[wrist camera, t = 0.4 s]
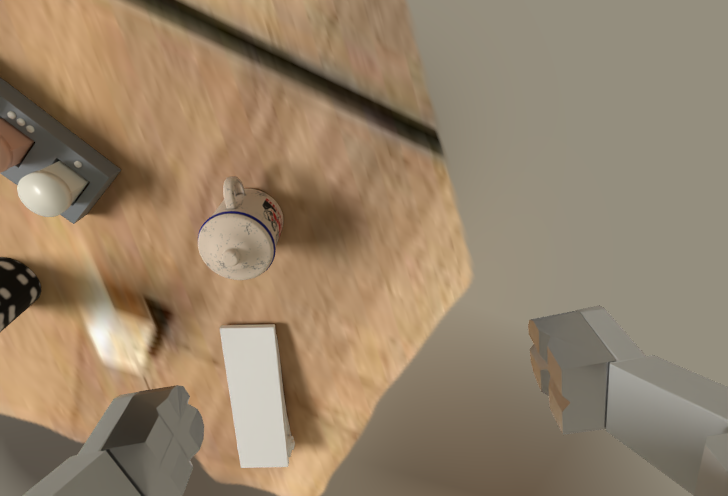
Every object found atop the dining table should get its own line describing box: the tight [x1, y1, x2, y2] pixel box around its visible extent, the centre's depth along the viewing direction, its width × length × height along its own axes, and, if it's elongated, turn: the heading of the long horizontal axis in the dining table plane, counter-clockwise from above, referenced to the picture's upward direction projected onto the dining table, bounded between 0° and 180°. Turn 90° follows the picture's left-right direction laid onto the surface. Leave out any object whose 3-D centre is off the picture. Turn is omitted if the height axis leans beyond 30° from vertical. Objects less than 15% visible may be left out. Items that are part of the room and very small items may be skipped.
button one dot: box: [17, 161, 89, 217], centre depth 51 cm, size 5×5×5 cm
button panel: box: [0, 78, 121, 224], centre depth 52 cm, size 21×9×3 cm, turn 45°
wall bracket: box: [220, 324, 295, 468], centre depth 73 cm, size 10×7×28 cm
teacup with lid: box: [198, 176, 283, 280], centre depth 53 cm, size 12×9×12 cm
